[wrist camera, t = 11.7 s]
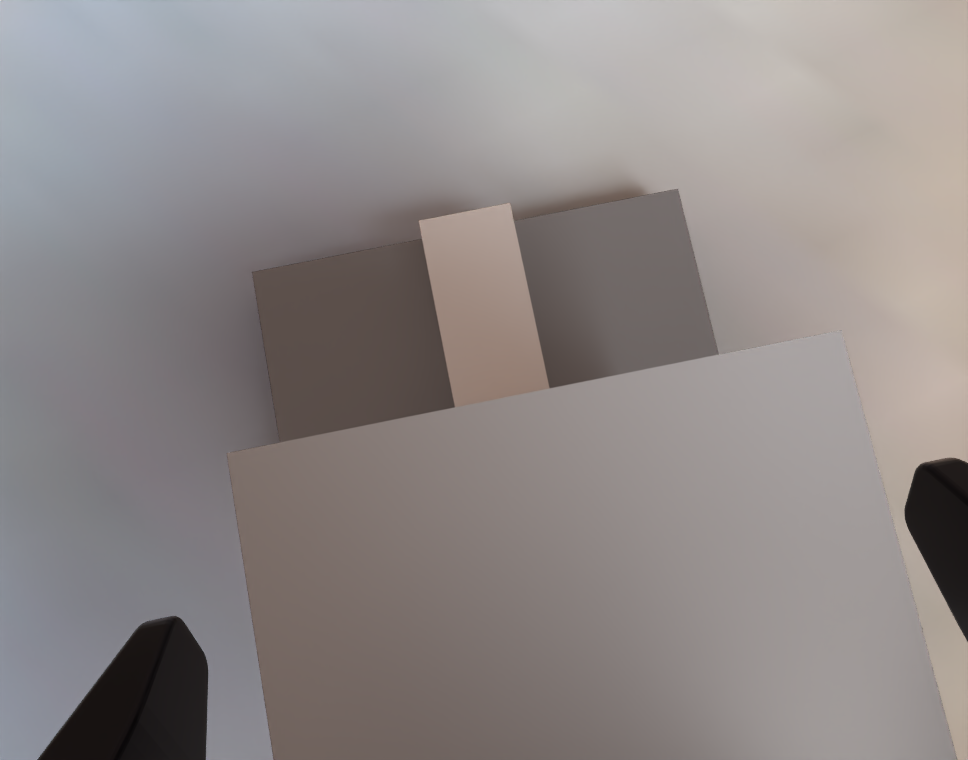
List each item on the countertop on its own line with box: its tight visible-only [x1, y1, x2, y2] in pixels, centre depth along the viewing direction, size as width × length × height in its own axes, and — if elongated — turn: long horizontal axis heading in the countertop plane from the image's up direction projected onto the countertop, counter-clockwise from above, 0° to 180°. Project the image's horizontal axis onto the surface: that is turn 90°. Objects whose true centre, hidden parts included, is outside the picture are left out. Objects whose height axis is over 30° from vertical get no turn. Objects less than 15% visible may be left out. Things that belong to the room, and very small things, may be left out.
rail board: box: [252, 189, 719, 442], centre depth 16 cm, size 14×10×3 cm
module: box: [227, 330, 957, 760], centre depth 11 cm, size 4×6×10 cm
